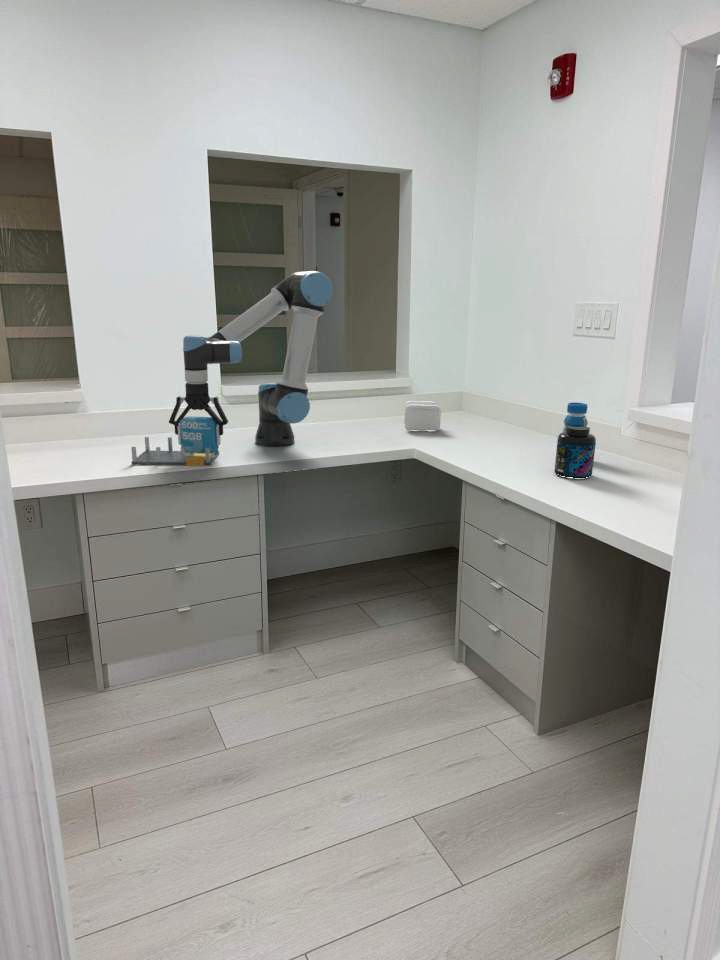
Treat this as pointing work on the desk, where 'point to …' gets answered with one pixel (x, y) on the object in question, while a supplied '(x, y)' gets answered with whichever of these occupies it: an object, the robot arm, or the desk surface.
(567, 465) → the container
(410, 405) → the cable organizer
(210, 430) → the data package
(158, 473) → the desk surface
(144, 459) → the panel rack
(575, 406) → the beverage bottle
